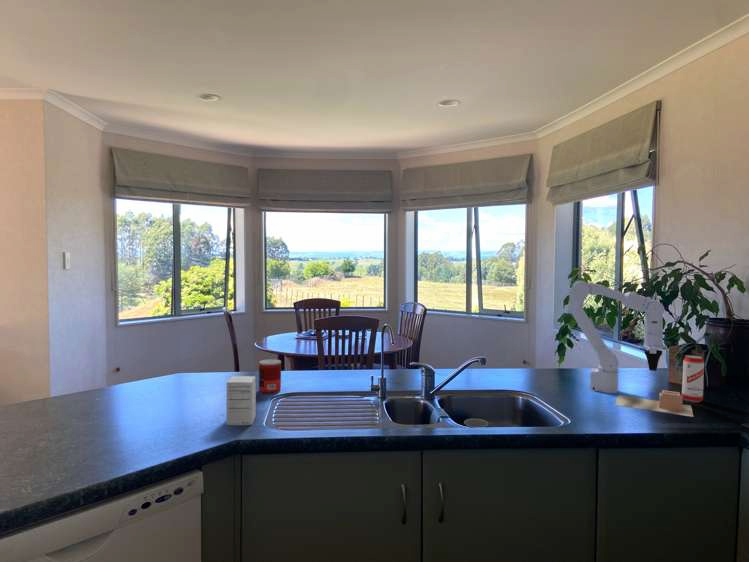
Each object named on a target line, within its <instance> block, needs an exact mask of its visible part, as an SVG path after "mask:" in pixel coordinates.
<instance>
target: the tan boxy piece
mask: <svg viewBox="0 0 749 562" xmlns="http://www.w3.org/2000/svg"><path fill="white" fill-rule="evenodd" d="M658 398H659V400H658V401H659V408H663V409H669V410H676V411H682V407H683V405H684V404H683V403H684V401H683V400H684V399H683V398H682V394H681V393H680V391H674V390H673V391H672V390H671V391H670V390H664V389H663V390H662V389H661V392H659V397H658Z"/></svg>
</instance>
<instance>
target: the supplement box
mask: <svg viewBox="0 0 749 562" xmlns="http://www.w3.org/2000/svg"><path fill="white" fill-rule="evenodd" d="M256 378H257V377H256V376H254V375H253V376H252V375H250V376H249V375H245V376H243V375H242V376H241V375H239V376H235V375H234V376H233V375H232V376H231V377H229V379H228V380H227V381H226V426H251V425H253V424H254V423H253V422H254V420H255V419H256V411H257V410H256V403H257V402H256V401H257V400H256V399H257V398H256V396H257V393H256V390H257V389H256V385H257V384H256V383H257V382H256V380H257V379H256Z"/></svg>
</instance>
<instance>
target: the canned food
mask: <svg viewBox="0 0 749 562" xmlns="http://www.w3.org/2000/svg"><path fill="white" fill-rule="evenodd" d="M281 388H282V361H281V360H280V359H275V358H274V359H273V358H272V359H271V358H269V359H262V360H259V362H258V391H259V393H260V394H264V395H271V394H277V393H279V392H280V391H281Z"/></svg>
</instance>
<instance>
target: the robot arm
mask: <svg viewBox="0 0 749 562" xmlns="http://www.w3.org/2000/svg"><path fill="white" fill-rule="evenodd" d="M589 294H590V295H591V296H596V295H601V296H603V297H607V298H609V299H613V300H616V301H619V302H621V304H622V305H623V307H626V308H628V309H631V310H634V311H637V312H640V313H645V314H644V315H645V316H644V324H643V326H644V327H643V328H644V329H643V330H644V332H643V333H644V335H643V337H644V338H643V341H644V342H643V348H646V349H644V350H643V353H644V355H645V357H646V360H647V366H648V369H649V371H653V372H656V371H657V369H658V365H659V361H660V358H661V356H662V354H663V350H662V349H666V348H667V346H666V345H663V340H664V339H663V335H664V333H663V332H664V331H663V325H664V324H663V323H664V322H663V319H664V318H663V315H664V313H665V310H666V309H665V307H664V305H663V303H662V302H660V301H658V300H656V299H654V298H652V297H651V296H647V297H646V296H643V295H640V294H638V292H637V291H628V292H625V293H624V292H621V291H618V290H615V289H612V288H610V287H607V286H605V285H602V284H599V283H595V282H586V281H584V280H577V281H575V282H574V283H573V284H572V286H571V287H570V290H569V299H568V310H569V312H570V313H571V315H572V317H573V318H574V321H576V323H577V325H578V326H579V328H580V329H581V331H582V332H583V334H584V336H585V338H586V339H587V341H588V342H589V344H590V345H591V347H592V349H593V350H594V353H595V355H596V356H597V358H598V362H599V365H598V366H597V367H596V368H591V371H590V382H589V391H595V392H600V393H606V394H617V393H618V392H619V374H620V372H619V369H618V367H619V365H620V364H619V363H620V362H619V359H618V358H617V355H616V353H614V352H613V351H612V350H610V349H609V348H608V346H607V345H606V343H605V341H604V340H603V338H602V337H601V334H599V332H598V330H597V329H596V327H595V325H594V324H593V322H592V320H591V319H590V318H589V316H588V315H587V313H586V312H585V310H584V308H583V306H584V303H585V300H586V298H587V297H588V296H589Z"/></svg>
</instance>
